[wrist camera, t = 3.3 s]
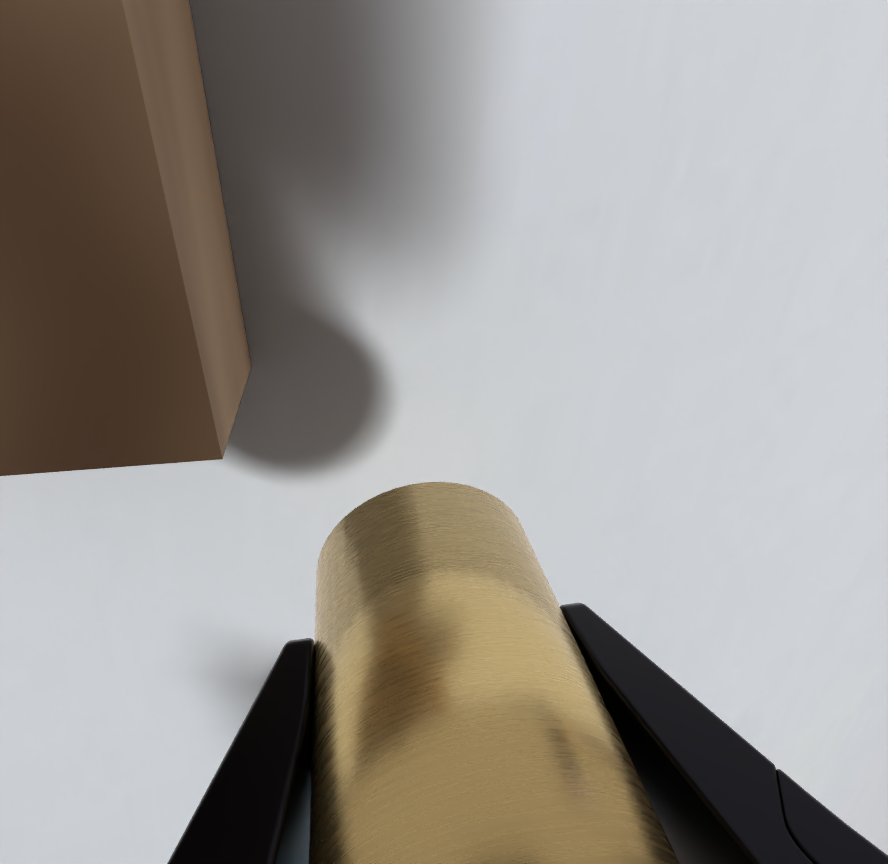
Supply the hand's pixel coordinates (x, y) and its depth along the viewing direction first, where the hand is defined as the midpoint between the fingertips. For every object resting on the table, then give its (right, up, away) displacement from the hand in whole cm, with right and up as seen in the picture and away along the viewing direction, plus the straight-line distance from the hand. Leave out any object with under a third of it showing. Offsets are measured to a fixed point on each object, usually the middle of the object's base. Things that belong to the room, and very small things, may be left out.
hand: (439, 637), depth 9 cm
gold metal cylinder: (0, +1, +1) cm, 2 cm away
